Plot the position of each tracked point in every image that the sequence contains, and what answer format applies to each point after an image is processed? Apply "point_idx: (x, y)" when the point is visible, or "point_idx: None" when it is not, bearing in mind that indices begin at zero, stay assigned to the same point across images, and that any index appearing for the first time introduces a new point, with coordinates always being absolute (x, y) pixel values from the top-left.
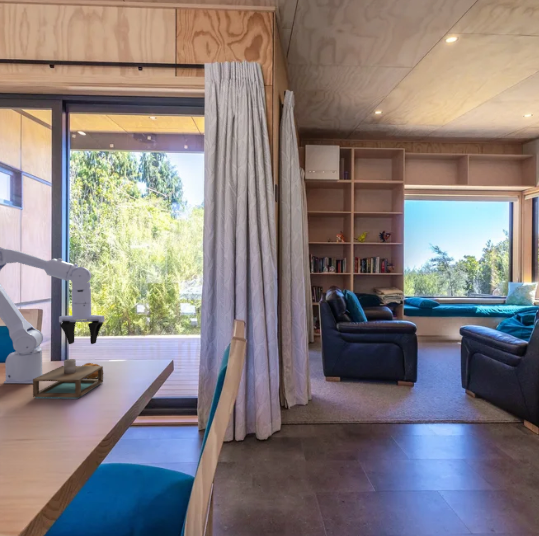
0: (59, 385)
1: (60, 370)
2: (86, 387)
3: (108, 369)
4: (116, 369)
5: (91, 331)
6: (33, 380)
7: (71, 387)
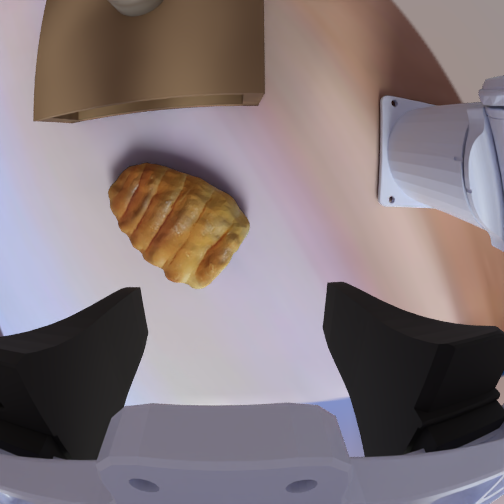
0: None
1: (213, 10)
2: None
3: (161, 309)
4: None
5: (65, 328)
6: None
7: None
